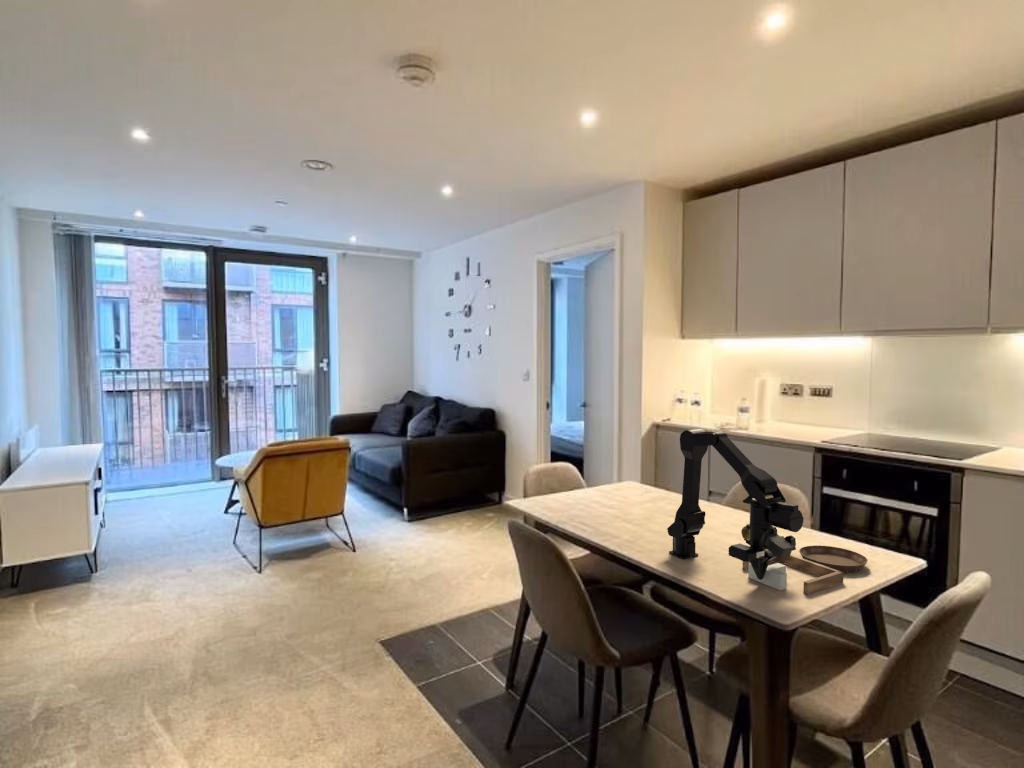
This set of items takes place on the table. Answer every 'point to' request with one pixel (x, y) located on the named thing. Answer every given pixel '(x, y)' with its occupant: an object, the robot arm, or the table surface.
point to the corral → (826, 574)
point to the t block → (771, 576)
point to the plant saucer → (834, 557)
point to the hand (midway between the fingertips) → (760, 579)
